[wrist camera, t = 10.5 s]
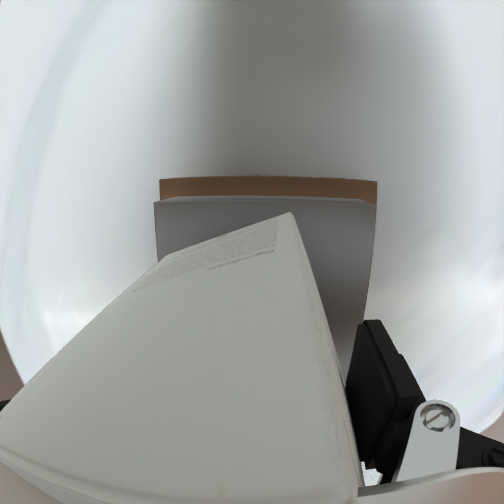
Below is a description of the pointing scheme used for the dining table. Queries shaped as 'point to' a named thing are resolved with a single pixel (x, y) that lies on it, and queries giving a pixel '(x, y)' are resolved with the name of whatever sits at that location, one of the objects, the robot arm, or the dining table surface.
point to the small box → (196, 388)
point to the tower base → (308, 222)
